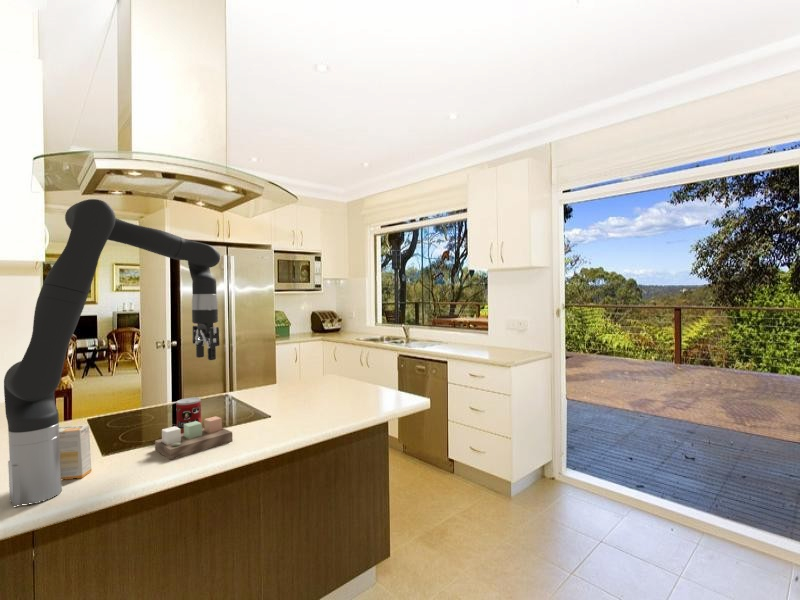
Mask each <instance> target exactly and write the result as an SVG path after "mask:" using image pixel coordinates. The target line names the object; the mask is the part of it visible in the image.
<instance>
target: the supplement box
mask: <svg viewBox="0 0 800 600" xmlns="http://www.w3.org/2000/svg"><path fill="white" fill-rule="evenodd" d="M90 433H91V432H90V425H89V424H83V425H71V426H69V425H68V426H59V436H60V459H61V479H65V480H73V478H77V479H83V478H85V477H86V476H87V475H88V474H89V472H90V473H91V472H92V470H93V469H92V453H91V438H90V437H91V436H90ZM86 474H87V475H86ZM85 475H86V476H85Z"/></svg>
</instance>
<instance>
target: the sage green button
mask: <svg viewBox="0 0 800 600" xmlns="http://www.w3.org/2000/svg"><path fill="white" fill-rule="evenodd" d="M202 428H203V423H202V422H201V423H200V422H198V421H194V422H190V423H186V424H184V437H186V438H188V439H191V438H195V437H199V436H202Z"/></svg>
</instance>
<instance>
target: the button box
mask: <svg viewBox="0 0 800 600" xmlns="http://www.w3.org/2000/svg"><path fill="white" fill-rule="evenodd" d="M231 442H233V431H231V430H229V429H227V428H223V427H222V430H220V431H217V432H213V433H208V432H205V431H204V427H202V436H199V437H195V438H191V439H188V438H186V437H184V433H182V434H181V441H180V442H176V443H173V444H169V445H166V444H164V443H162V438H160V439H156V440H154V450H155V451H156V452H157V453H159V454H161V455H162V456H164V457H165V458H167V459H169V460H175V459H178V458H181V457H184V456H187V455H190V454H194V453H199V452H200V451H204V450H207V449H211V448H214V447H218V446H220V445H221V446H222V445H223V444H227V443H231Z"/></svg>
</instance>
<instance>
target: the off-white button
mask: <svg viewBox="0 0 800 600" xmlns="http://www.w3.org/2000/svg"><path fill="white" fill-rule="evenodd" d="M161 439H162V443H164V444H166V445H169V444H173V443H176V442H180V441H181V429H180V428H178V427H177V425H176V426H175V425H174V426H170V427H166V428H162V429H161Z"/></svg>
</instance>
